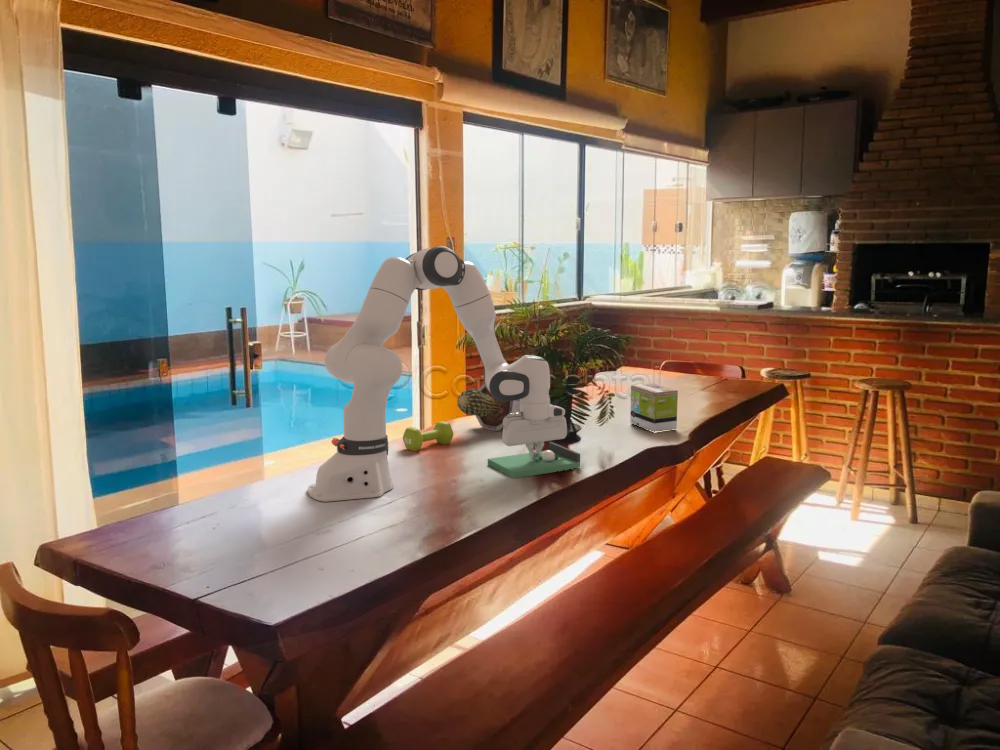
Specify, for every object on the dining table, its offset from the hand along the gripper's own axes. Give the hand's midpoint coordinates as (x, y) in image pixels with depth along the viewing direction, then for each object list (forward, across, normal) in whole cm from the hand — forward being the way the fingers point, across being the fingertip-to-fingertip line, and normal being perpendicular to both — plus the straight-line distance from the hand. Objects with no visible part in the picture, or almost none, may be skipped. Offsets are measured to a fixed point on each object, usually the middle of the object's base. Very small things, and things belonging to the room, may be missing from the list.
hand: (534, 456), depth 237 cm
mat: (+3, 0, 0) cm, 3 cm away
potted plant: (+3, +10, +48) cm, 49 cm away
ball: (+1, +5, 0) cm, 5 cm away
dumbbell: (+3, -18, +37) cm, 41 cm away
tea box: (+3, +62, +23) cm, 66 cm away
